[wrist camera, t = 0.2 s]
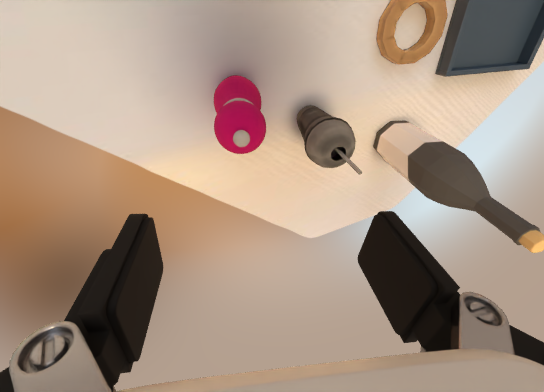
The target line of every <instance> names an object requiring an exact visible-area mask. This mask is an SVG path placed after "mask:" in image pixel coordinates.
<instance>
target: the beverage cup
mask: <svg viewBox="0 0 544 392" xmlns="http://www.w3.org/2000/svg"><path fill="white" fill-rule="evenodd" d="M297 123H298V126H299V129H300V131H301V134H302V137H303V139H304V142H305V151H306V153H307V156H308V157H309V158H310V159H311V160H312V161H313V162H314V163H316V164H317V165H320V166H322V167H325V168H334V167H338V166H341V165H343V164H344V163H345V162H347V163H348V164H349V165H350V166H351V167H352V168H353V169H354V170H355V171H356V172H357V173H358V174H359V175H360V174H362V171H361V170H360V169H359V168H358V167H357V166H356V165H355V164H354V163H353V162H352V161H351V160H350V157H351V156H352V154H353V152H354V149H355V137H354V133H353V131H352V129H351V127H350V126H349V124H348V123H347V122H346V121H344V120H342V119H340V118H335V117H332V116H331V115H329V114H327V113H326V112H324V111H322V110H321V109H319V108H317V107H315V106H311V105H310V106H306V107H304V108H302V109H301V110H300V112H299V113H298V116H297Z"/></svg>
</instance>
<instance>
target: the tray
mask: <svg viewBox="0 0 544 392" xmlns="http://www.w3.org/2000/svg"><path fill="white" fill-rule="evenodd" d="M543 38H544V0H457V1H456V4H455V8H454V11H453V15H452V18H451V22H450V25H449V29H448V32H447V36H446V39H445V43H444V46H443V50H442V53H441V57H440V60H439V63H438V67H437V70H436V74H438V75H442V76H456V75H467V74H477V73H488V72H499V71H510V70H520V69H529V68H530V65H531V63H532V61H533V59H534V57H535V55H536V53H537V51H538V49H539V47H540V45H541V42H542V40H543Z"/></svg>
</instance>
